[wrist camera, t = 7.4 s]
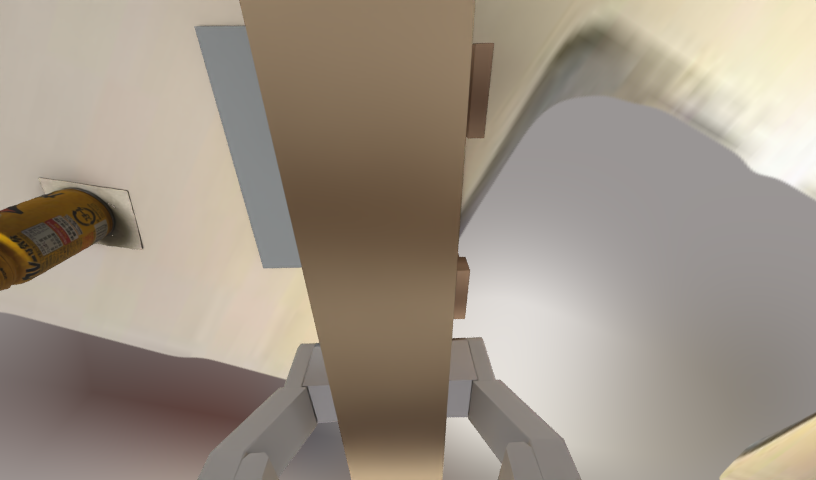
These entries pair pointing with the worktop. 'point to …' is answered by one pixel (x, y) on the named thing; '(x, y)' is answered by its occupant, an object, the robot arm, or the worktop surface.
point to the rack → (474, 129)
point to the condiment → (62, 228)
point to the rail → (374, 204)
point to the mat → (249, 141)
